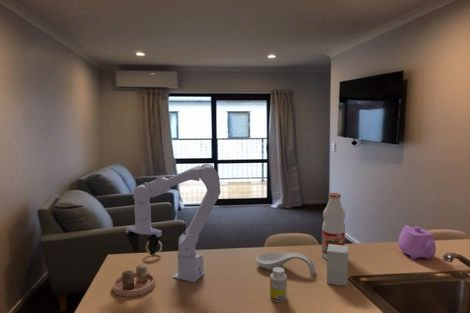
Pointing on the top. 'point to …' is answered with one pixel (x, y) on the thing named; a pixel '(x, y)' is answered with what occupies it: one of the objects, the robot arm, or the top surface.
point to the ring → (157, 252)
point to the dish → (138, 287)
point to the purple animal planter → (417, 242)
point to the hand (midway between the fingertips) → (144, 252)
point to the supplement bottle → (278, 285)
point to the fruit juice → (333, 223)
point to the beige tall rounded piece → (141, 273)
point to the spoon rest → (282, 260)
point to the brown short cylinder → (128, 280)
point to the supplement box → (337, 264)
